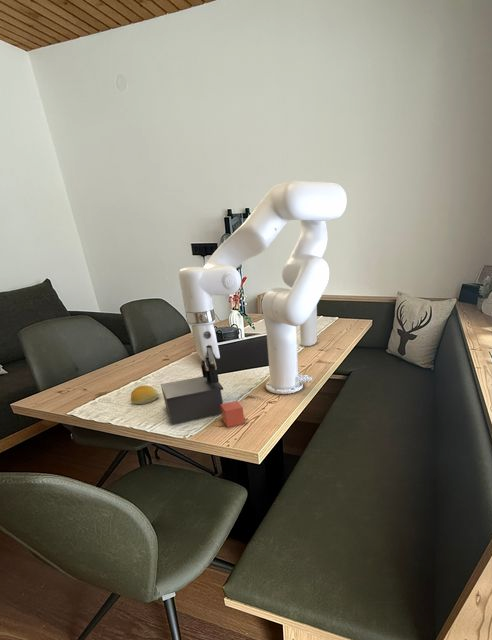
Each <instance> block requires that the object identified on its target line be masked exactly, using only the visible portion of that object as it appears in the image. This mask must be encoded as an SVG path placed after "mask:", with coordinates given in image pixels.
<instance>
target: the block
mask: <svg viewBox="0 0 492 640" xmlns="http://www.w3.org/2000/svg"><path fill="white" fill-rule="evenodd" d="M220 406H221V413H222V414H221V418H222V419H221V420H222V421H223V423H224V424H225V425H226V427H227V428H230V427H234V426H235V427H236V426H239V425H243V424H245V415H244V409H243V405H241V403H240V402H239V401H238V400H234V401H229V402H224V403H223V404H220Z"/></svg>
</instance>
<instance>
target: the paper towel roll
mask: <svg viewBox="0 0 492 640" xmlns="http://www.w3.org/2000/svg"><path fill="white" fill-rule="evenodd" d="M317 305H318V304H317ZM317 305H316V307H315V308H314V310H313V312H312V314H311V315H310V317H309V318H308V320H307V321H306V322H305V323H303V324H302V325H300V326H299V331H300V332H299V333H300V336H299V338H300V345H301V346H304V347H311V346H313V345H316V343H317V342H318V330H317V329H318V309H317V308H318V306H317Z"/></svg>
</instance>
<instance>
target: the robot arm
mask: <svg viewBox="0 0 492 640" xmlns="http://www.w3.org/2000/svg"><path fill="white" fill-rule="evenodd" d="M347 204H348V197H347V193H346V191H345V189H344V188H343V186H342V185H340V184H339V183H337V182H331V181H311V180H310V181H309V180H289V181H286V182H285V181H284V182H280V183H277V184H275V185H273V186H271V188H270V189H268V191H266V193H265V195H263V197H262V198H261V200H260V201H259V202H258V204H257V205H256V206H255V207H254V209H253V210H252V212H250V214H249V215H248V216H247V218H246V219H245V220H244V222H243V223H242V224H241V225H240V226H239V227H238V228H237V229H236V230H234V232H232V234H231V235H230V236H228V238H226V239H225V240H224V241H223V242H222V243H221V244H220V245H219V246H218V247H217V249H216V250H214V252H213V253H212V254H211V256H210V257H209V258H208V260H207V261H206V263H205V264H204V265H203V266H187V267H182V268H181V269H180V270H179V271H178V279H179V284H180V289H181V290H180V291H181V296H182V302H183V307H184V311H185V318H186V322H187V325H188V326H191V329H192V335H193V341H194V346H195V350H196V354H197V355H198V356H199V359H200V367H201V373H202V376H203V377H204V378H206V377H207V382H208V384H212V383H217V382H219V381H220V380H219V373H218V367H217V363H216V359H217V360H219V359H220V358H221V355H220V349H219V346H218V345H219V344H218V339H217V334H216V329H215V326H214V324H215V323H216V316H215V308H214V301H213V296H231V295H234V294H236V293H238V291H239V290H240V288H241V286H242V276H241V273H240V271H238V270H237V269H238V268H239V267H240V266H241V265H242V264H243V263H245V262H246V261H247V260H249V259H251V258H254V257H256V256H258V255H260V254H262V253H263V252H265V251H266V250H268V248H269V247H270V245H271V244H272V243H273V242H274V240H275V239H276V238H277V236H278V235H279V234H280V233H281V230H283V229H284V227H286V225H287V224H288V222H290V221H300V227H301V228H300V234H299V237H298V239H297V241H296V243H295V245H294V247H293V249H292V251H291V253H290V254H289V257H288V258H287V260H286V261H285V264H284V266H283V268H282V272H281V276H282V277H281V278H282V280H283V282H284V284H285V285H286V286H288V287H290V288H291V289H289V288H284V287H273V288H271V289H269V290H267V291H266V292H265V293H264V294H263V297H262V300H261V311H262V316H263V320H264V325H265V332H266V344H267V345H266V346H267V359H268V371H269V380H268V381H267V382H266V384H265V389H266V390H267V391H268V392H269V393H272V394H278V395H289V394H294V393H297V392H299V391H300V390H302V389H303V387H304V383H310V384H311V383H312V381H313V379H312V378H313V377H312V376H309V374H302V375H301V374H300V371H299V365H298V364H299V363H298V334H297V327H300V325H302V324H303V323H305V322H306V321H307V320H308V318H309V317H310V315H311V314H312V312H313V310H314V308H315V307H316V305H318V303H319V301H320V300H321V298H322V296H323V294H324V292H325V290H326V288H327V286H328V283H329V279H330V268H329V264H328V262H327V261H326V260H325V259H324V258H323V256H324V254H325V252H326V249H327V247H328V241H329V240H328V239H329V238H328V237H329V235H328V227H327V222H329V221H335V220H337V219H339V218H340V217H341V216H342V215H343V214H344V212H345V211H346V207H347ZM205 366H206V371H205ZM219 383H220V382H219Z"/></svg>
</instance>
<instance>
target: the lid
mask: <svg viewBox="0 0 492 640" xmlns="http://www.w3.org/2000/svg"><path fill="white" fill-rule="evenodd" d="M205 371H206V366H205ZM161 387H162V388H161ZM160 388H161V391H162V390H163V392H164V395H165V398H166V400H167V401H170V400H174V399H179V398H184V397H189V396H194V395H199V394H204V393H209V392H214V391H219V390H221V391H223V390H224V386H223V385H222V384H221V382H217V383H212V384H208V382H207V377H206V378H204V377H203V375H202V376H197V377H192V378H187V379H181V380H175V381H171V382H166V383H160ZM163 392H162V393H163Z"/></svg>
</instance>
